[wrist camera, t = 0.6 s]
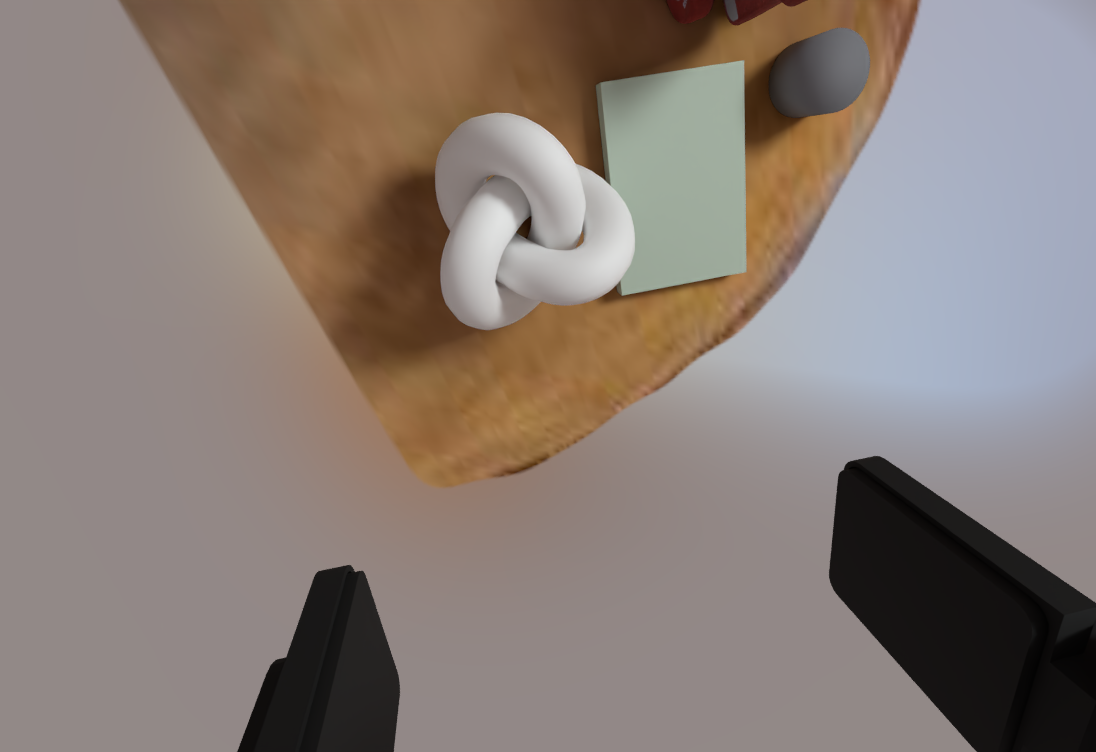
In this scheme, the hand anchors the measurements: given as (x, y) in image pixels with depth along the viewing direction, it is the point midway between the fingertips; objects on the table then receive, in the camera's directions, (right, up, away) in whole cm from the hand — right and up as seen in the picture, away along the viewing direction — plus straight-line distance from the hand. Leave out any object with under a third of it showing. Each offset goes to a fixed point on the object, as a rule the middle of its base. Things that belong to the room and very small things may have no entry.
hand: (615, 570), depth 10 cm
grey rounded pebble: (+15, +23, +24) cm, 37 cm away
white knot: (-4, +14, +25) cm, 29 cm away
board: (+7, +16, +25) cm, 31 cm away
